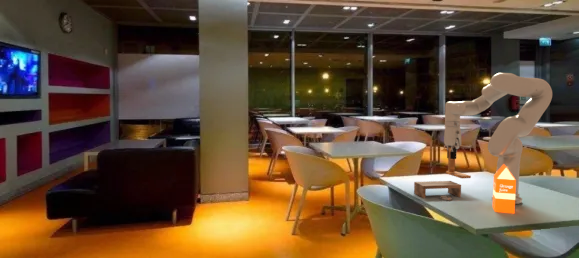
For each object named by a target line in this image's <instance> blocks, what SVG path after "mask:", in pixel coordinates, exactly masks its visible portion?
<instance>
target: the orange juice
mask: <svg viewBox="0 0 579 258" xmlns="http://www.w3.org/2000/svg"><path fill="white" fill-rule="evenodd" d="M492 185H493V186H492V189H493V190H492V197H493V200H492V205H491V206H492V209H493V211H494V212H495V213H504V214H514V215H515V210H516V209H515V207H516V204H515V192H516V180H515V178H514V177H513V176H512V174H511V173H510V171H509V170H508V169H507V167H506V166H505V165H504V164H503V165H502V166H501V168H500V169H499V170H498V171H497V170H496V172H495V174H493V184H492Z"/></svg>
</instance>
